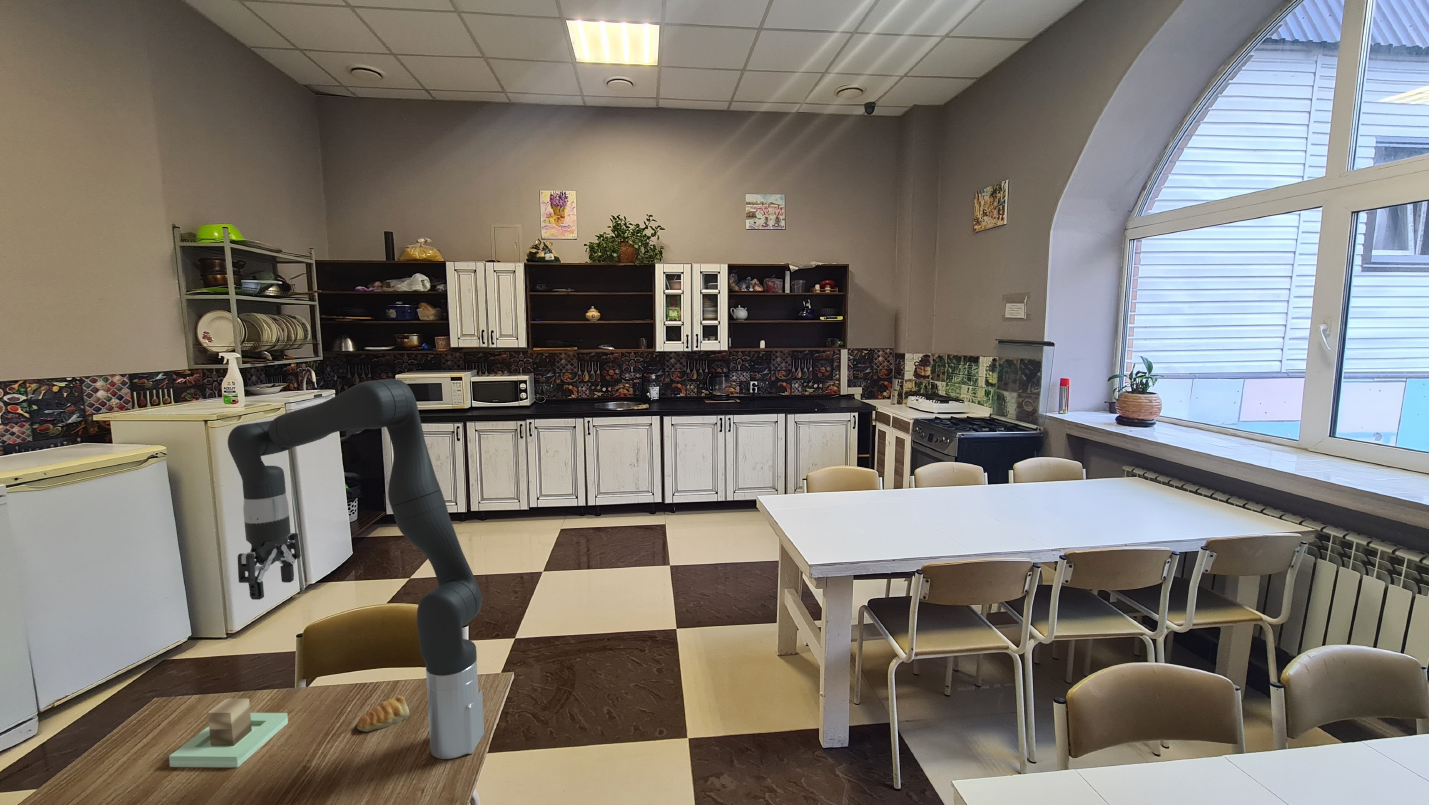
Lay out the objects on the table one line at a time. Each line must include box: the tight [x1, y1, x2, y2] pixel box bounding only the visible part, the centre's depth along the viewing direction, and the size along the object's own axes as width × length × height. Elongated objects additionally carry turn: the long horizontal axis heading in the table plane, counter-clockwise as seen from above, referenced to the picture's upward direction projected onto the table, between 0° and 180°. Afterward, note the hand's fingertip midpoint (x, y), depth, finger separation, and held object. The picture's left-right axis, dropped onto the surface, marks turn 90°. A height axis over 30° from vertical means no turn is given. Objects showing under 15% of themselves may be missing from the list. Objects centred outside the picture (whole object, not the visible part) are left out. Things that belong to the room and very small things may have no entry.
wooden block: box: [207, 698, 252, 746], centre depth 116 cm, size 4×4×7 cm
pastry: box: [356, 695, 410, 733], centre depth 124 cm, size 9×7×4 cm
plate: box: [168, 712, 289, 768], centre depth 117 cm, size 13×13×2 cm
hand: (273, 590), depth 124 cm, fingers open, 8 cm apart
